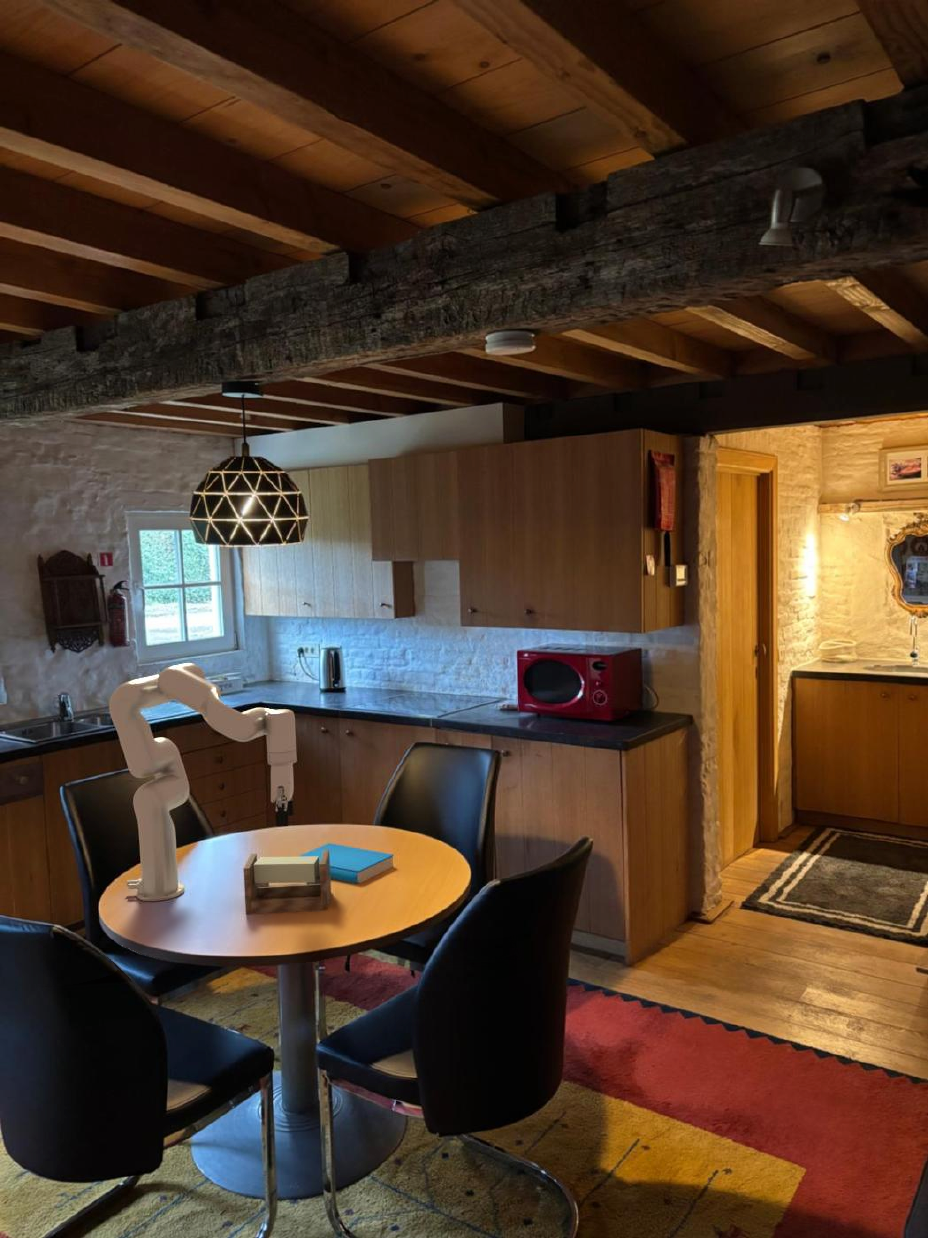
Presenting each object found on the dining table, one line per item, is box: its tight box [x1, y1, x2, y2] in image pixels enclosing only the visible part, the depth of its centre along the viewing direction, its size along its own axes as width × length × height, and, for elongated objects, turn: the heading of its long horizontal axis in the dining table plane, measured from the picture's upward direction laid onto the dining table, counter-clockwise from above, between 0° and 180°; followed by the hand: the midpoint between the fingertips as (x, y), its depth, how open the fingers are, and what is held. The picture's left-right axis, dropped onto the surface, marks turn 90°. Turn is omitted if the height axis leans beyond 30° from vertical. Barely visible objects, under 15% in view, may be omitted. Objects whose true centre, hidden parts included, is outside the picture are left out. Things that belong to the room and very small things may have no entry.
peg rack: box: [242, 850, 332, 915], centre depth 247 cm, size 21×12×12 cm, turn 94°
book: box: [296, 842, 394, 884], centre depth 274 cm, size 17×4×25 cm
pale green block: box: [254, 856, 320, 884], centre depth 247 cm, size 16×6×5 cm, turn 86°
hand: (284, 820), depth 246 cm, fingers open, 9 cm apart
